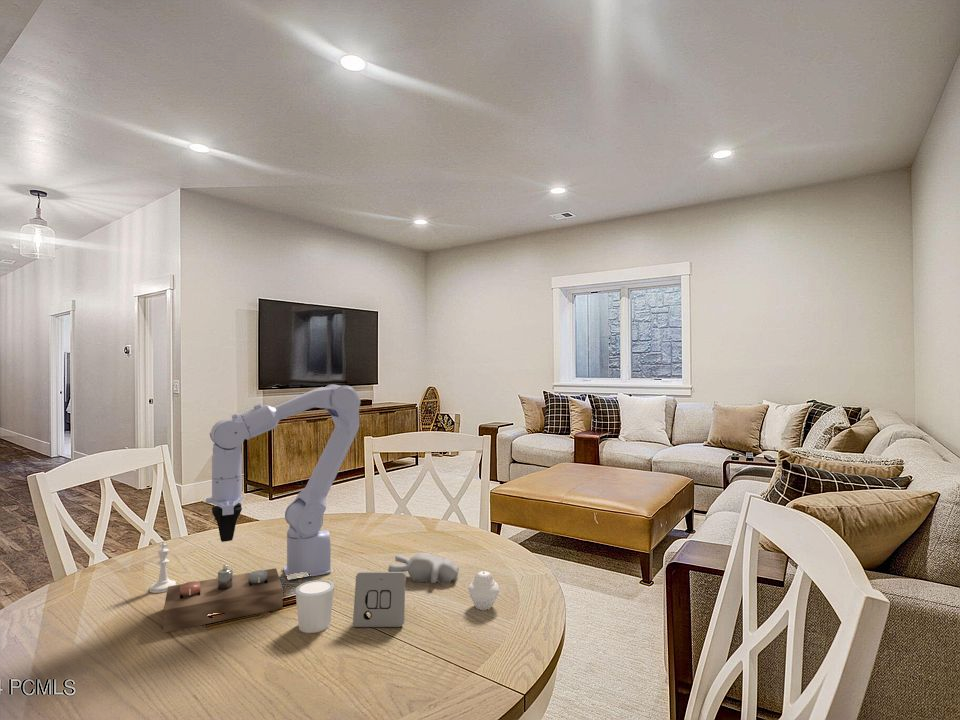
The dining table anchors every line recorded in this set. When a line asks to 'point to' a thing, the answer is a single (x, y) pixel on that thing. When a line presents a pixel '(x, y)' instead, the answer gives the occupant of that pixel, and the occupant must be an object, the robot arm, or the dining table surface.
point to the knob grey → (258, 577)
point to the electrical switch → (379, 599)
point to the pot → (225, 578)
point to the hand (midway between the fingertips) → (226, 540)
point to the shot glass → (314, 605)
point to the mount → (221, 601)
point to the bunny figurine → (426, 568)
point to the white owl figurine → (483, 590)
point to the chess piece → (162, 572)
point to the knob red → (190, 589)
